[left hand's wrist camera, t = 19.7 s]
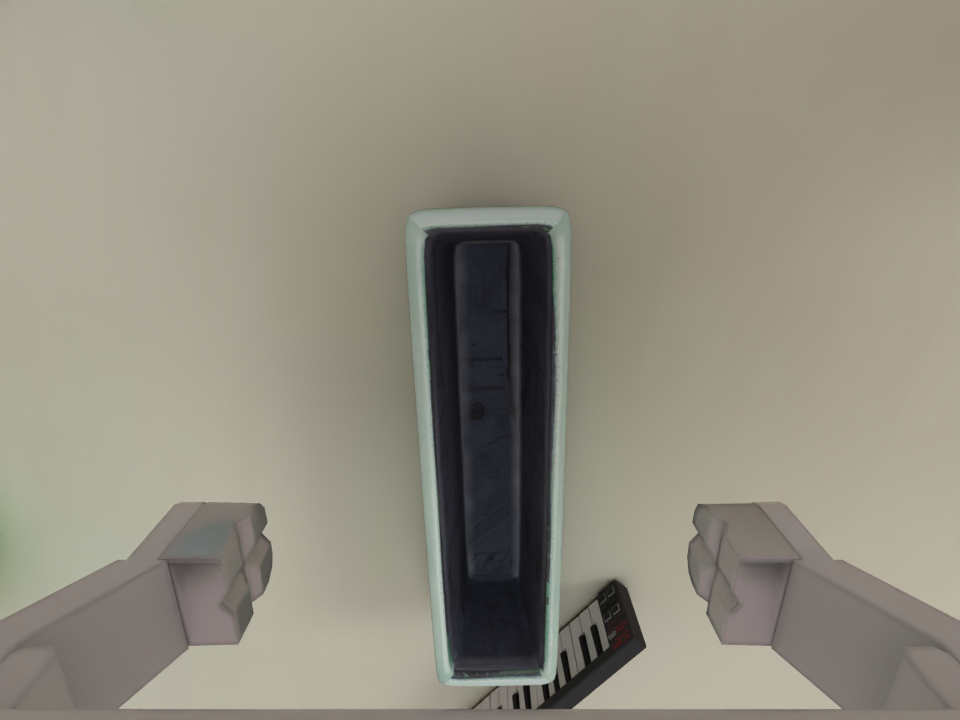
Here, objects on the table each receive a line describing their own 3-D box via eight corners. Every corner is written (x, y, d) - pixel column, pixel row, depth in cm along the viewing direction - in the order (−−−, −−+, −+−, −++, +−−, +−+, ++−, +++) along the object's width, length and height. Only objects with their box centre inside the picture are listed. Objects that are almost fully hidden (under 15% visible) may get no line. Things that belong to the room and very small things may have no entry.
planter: (418, 196, 30) (400, 210, 23) (553, 192, 29) (575, 205, 23) (443, 597, 39) (435, 690, 33) (544, 595, 39) (557, 688, 33)
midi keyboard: (613, 578, 38) (632, 637, 34) (627, 587, 39) (647, 647, 34) (460, 715, 43) (457, 784, 39) (473, 723, 44) (472, 791, 39)
